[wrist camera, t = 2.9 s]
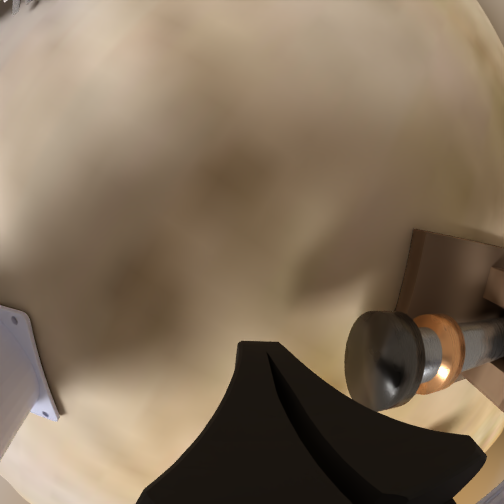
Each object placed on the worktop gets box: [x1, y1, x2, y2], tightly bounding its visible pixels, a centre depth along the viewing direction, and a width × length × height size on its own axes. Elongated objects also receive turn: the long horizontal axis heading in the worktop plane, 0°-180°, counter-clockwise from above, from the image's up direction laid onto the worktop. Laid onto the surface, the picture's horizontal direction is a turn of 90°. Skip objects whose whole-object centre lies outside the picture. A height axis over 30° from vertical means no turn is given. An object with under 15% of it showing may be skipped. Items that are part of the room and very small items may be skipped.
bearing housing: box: [395, 229, 504, 412], centre depth 11 cm, size 14×10×8 cm
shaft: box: [345, 311, 504, 412], centre depth 10 cm, size 12×4×4 cm, turn 83°
